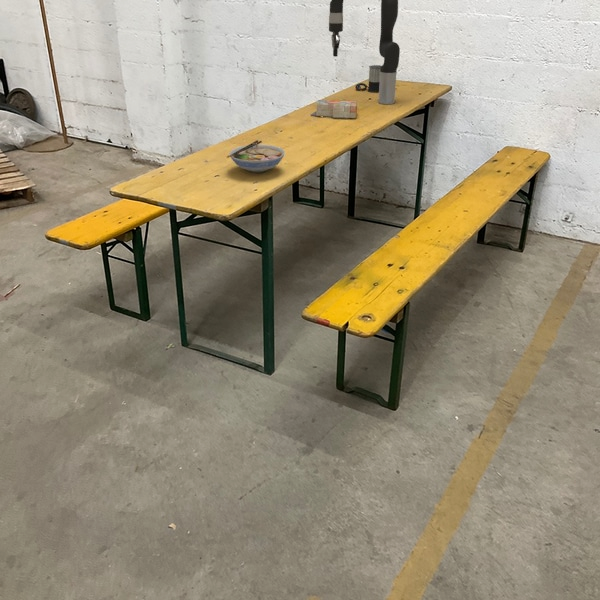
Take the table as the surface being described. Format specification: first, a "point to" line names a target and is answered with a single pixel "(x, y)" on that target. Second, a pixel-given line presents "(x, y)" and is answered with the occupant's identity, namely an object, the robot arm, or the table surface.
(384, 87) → the robot arm
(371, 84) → the milk frother
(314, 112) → the charcoal rubber mat
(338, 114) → the stack of blocks
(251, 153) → the ramen bowl
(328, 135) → the table surface
